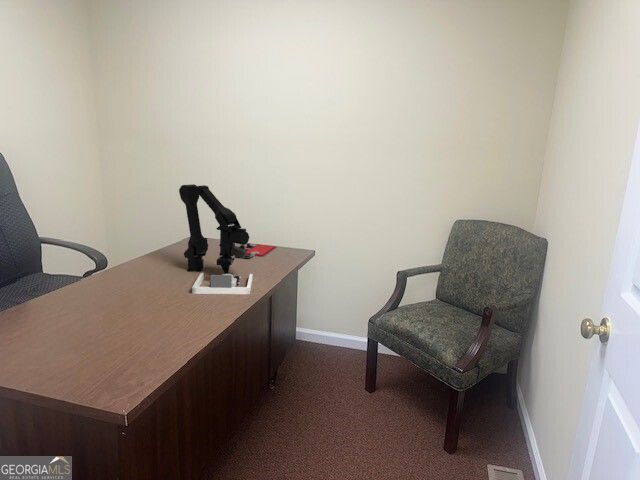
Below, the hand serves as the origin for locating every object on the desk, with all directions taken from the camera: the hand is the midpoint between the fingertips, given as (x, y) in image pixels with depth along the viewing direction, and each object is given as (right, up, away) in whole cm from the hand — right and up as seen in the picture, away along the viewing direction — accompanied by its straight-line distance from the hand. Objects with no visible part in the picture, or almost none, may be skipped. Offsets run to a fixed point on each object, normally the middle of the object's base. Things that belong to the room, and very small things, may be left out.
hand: (226, 275), depth 186 cm
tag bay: (+1, -4, -9) cm, 10 cm away
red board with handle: (+5, +8, +47) cm, 48 cm away
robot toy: (+2, -4, -10) cm, 11 cm away
